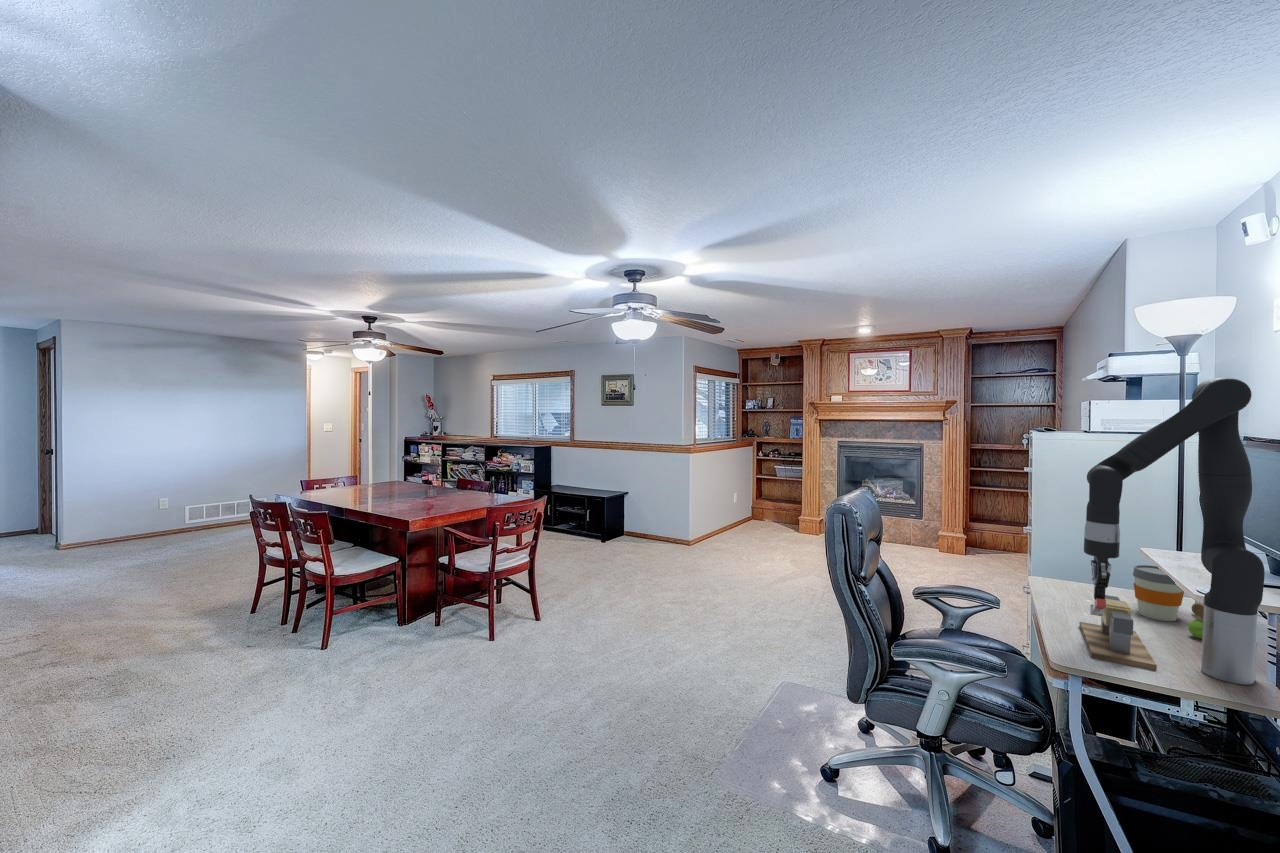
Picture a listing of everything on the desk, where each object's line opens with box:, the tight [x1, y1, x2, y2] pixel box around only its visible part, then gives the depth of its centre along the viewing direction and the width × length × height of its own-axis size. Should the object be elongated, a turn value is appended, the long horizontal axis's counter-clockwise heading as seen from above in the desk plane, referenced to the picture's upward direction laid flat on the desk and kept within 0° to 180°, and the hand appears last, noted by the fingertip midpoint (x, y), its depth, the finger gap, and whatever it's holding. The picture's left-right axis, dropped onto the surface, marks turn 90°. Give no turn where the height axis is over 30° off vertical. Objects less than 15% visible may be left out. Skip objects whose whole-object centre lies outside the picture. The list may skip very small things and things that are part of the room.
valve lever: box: [1089, 598, 1106, 617], centre depth 154 cm, size 2×3×13 cm
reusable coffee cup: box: [1132, 564, 1185, 622], centre depth 180 cm, size 12×13×15 cm
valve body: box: [1100, 594, 1134, 654], centre depth 156 cm, size 22×5×11 cm, turn 147°
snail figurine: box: [1187, 602, 1204, 640], centre depth 162 cm, size 5×6×12 cm
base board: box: [1078, 621, 1158, 672], centre depth 156 cm, size 26×13×2 cm, turn 147°
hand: (1099, 600), depth 153 cm, fingers closed
